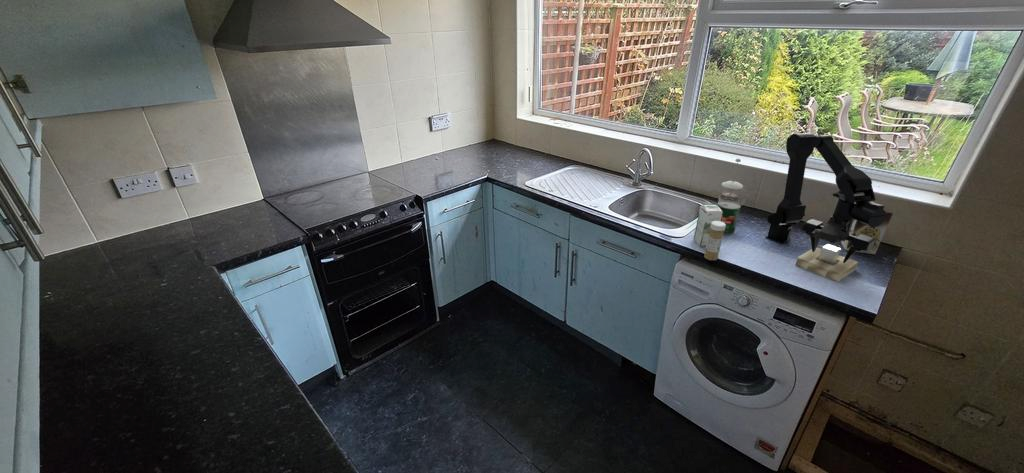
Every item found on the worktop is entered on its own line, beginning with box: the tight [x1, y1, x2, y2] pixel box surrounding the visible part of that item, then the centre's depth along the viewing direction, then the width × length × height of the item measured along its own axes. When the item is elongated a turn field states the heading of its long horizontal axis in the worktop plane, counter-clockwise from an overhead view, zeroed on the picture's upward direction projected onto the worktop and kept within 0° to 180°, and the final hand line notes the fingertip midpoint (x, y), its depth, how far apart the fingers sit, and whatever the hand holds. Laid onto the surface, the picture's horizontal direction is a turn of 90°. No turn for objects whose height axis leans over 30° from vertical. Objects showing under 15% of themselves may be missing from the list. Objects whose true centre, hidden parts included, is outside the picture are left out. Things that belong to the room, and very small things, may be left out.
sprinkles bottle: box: [703, 221, 726, 261], centre depth 149 cm, size 5×5×14 cm
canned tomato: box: [717, 200, 741, 236], centre depth 169 cm, size 8×8×11 cm
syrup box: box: [693, 204, 723, 247], centre depth 158 cm, size 6×6×14 cm
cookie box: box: [840, 206, 893, 255], centre depth 153 cm, size 9×6×16 cm
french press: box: [716, 158, 749, 207], centre depth 178 cm, size 10×12×25 cm
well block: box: [794, 247, 859, 283], centre depth 145 cm, size 13×13×3 cm
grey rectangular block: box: [818, 243, 842, 266], centre depth 143 cm, size 4×4×7 cm
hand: (828, 257), depth 143 cm, fingers open, 9 cm apart
